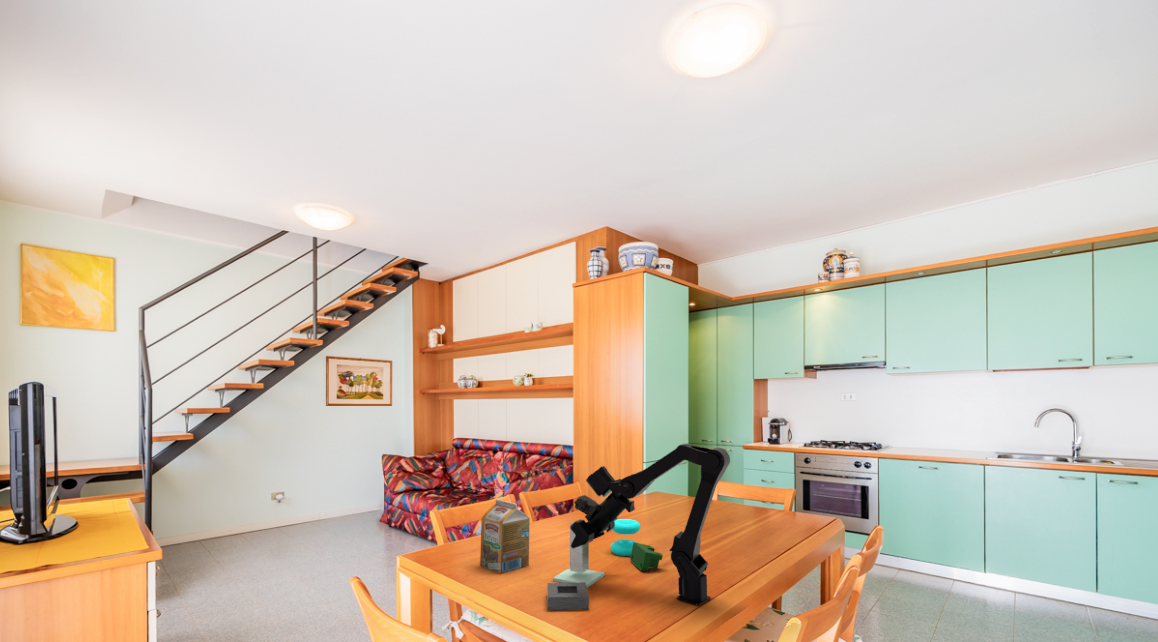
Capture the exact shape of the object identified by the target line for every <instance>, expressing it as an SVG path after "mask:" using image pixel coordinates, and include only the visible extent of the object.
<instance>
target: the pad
mask: <svg viewBox="0 0 1158 642" xmlns="http://www.w3.org/2000/svg"><path fill="white" fill-rule="evenodd" d="M605 575H606V574H605V572H603V571H598V570H593V569H592V570H591V569H588V570H586V571H585V572H583V573H578V572H573V571H570V567H569V568H567V569H565V570H564V571H562V572H561V573H559V574H557V575H555V576H553V577H552V581H553V582H555V583H579V582H586V587H587V589H588V588H589V587H591V586H592V585H593V584H595V583H596V582H598V581H599V580H601V579H602V578H603V577H605Z"/></svg>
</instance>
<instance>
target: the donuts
mask: <svg viewBox="0 0 1158 642" xmlns="http://www.w3.org/2000/svg"><path fill="white" fill-rule="evenodd" d="M614 522H615V527H614V528H613V529H612V530H611V531H613V532H614V533H616V534H618V535H623V536H627V535H629V536H630V535H634V534H637V533H638V532H639V531H641V523H640V522H639V521H638V520H634V519H630V518H629V519H628V518H620V519H618V518H617V519H616V520H615V521H614ZM634 542H635V543H638V542H637V541H635V540H632V539H625V538H624V539H623V538H622V539H617V540H615V541H613V542H612V543H611V546H610V550H611V552H612V553H613V555H614V554H615V555H617V556H620V555H621V557H631V552H632V547H633V543H634Z"/></svg>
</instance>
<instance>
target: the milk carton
mask: <svg viewBox="0 0 1158 642" xmlns="http://www.w3.org/2000/svg"><path fill="white" fill-rule="evenodd" d="M530 520H531V519H530V517H529V516H528V515H527V514H526V513H524V512H523V511H522V510H520V509H518V504H517V503H513V502H510V501H505V500H502V499H495V504H494V505H492V506H491V507H490V508H489V509H488V510H487V511H486V512H485V513H484V514H483V515H482V517H481V522H480V523H481V528H480V530H481V531H480V532H481V533H480V553H479V554H480V557H479V559H480V560H479V566H480V567H481V568H485V569H486V570H489V569H490V571H492V572H494V573H496V574H499V575H503V574H506V573H509V572H510V573H511V572H514V571H516V570H520V568H521V569H525V568H527V566H528V567H529V566H530V525H531V524H530V522H531V521H530Z"/></svg>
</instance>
